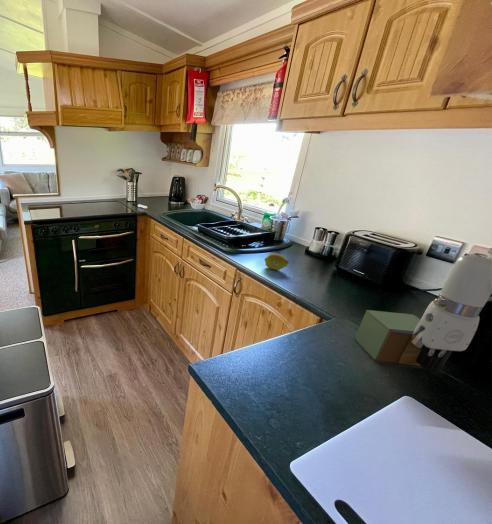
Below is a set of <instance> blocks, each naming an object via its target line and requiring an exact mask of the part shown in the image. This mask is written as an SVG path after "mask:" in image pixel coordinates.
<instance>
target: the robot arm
mask: <svg viewBox="0 0 492 524" xmlns="http://www.w3.org/2000/svg"><path fill="white" fill-rule="evenodd" d="M454 263H455V264H454V265H453V267H452V269H451V271H450V272H449V274H448V277H447V278H446V280H445V282H444V284H443V286H442V288H441V289H440V292H439V293H438V296H437V297H436V298H435V299H434V300H432V301H433V303H434V305H432V306H431V307H430V308H429V309H428V310H427V311H426V310H425V311H426V313H425V312H424V313H425V314H424V313H423V315H422V316H423V317H422V316H421V318H419V319H420V321H419V323H418V324H417V326H416V328H415V330H414V332H413V337H414V339H413V340H412V342H411V343H412V344H413V345H414V346H416V347H419V348H420V349H421V352H420V354H419V355H418V357H417V359H416V362H417V363H418V364H420V365H421V366H422V367H423V368H424V369H423V370H432V369H433V366H434V365H435V364H436V362H437V361H438V359H439V357H442V356H443V355H444V354H445V353H446V352H448V351H452V352H463V351H466V350H467V349H468V347H469V346H470V344H471V342H472V341H473V338H474V336H475V334H476V332H477V330H478V326H479V323H480V313H481V312H482V310H483V308H484V307H485V306H486V303H487V302H488V300H489V299H490V297H491V296H492V254H490V255H488V256H487V257H484V256H480V255H471V254H465V255H462V256H460V257H458V259H457V260H456V262H454Z"/></svg>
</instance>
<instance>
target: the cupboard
mask: <svg viewBox="0 0 492 524" xmlns="http://www.w3.org/2000/svg"><path fill="white" fill-rule="evenodd" d="M420 319H421V318H419V317H418V316H416V315H414V314H410V313H400V312H391V311H383V310H382V311H381V310H371V309H366V311H365V313H364V315H363V318H362V320H361V322H360V324H359V327H358V328H357V332H356V334H355V337H354V340H355V341H356V343H358V344H359V346H361V348H363V350H365V352H366V353H367V354H368V355H369V356H370V357H371V358H372V359H373V360H374V361H375V363H377V364H378V365H383V366H384V365H386V366H393V367H401V368H402V367H404V368H412V369H421V370H425V369H424V368H423V367H422V366H416V365H406V364H399V363H398V361H399V359H400V357H401V355H402V353H403V351H404V350H405V348H406V346H407V344H408V342H409V340H410V338H411V336H413V332H414V330H415V328H416V326H417V324H418V323H419V321H420Z"/></svg>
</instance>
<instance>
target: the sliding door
mask: <svg viewBox="0 0 492 524" xmlns="http://www.w3.org/2000/svg"><path fill="white" fill-rule="evenodd" d="M413 339H414V337H413V336H411V338H410V340H409V342H408V344H407V346H406V348H405V350H404V351H403V353H402V355H401V357H400V359H399V361H398V363H399V364H406V365H416V366H421V365H420V364H418V363H417V362H416V359H417V357H418V355H419V354H420V352H421V349H420V348H419V347H416V346H414V345H413V344H412V343H411V342H412V340H413ZM452 353H453V351H448V352H446V353H445V354H444V355H443V356H442V357H438V360H437V361H436V363H435V365H434V366H433V368H432V369H431V370H432V372H434V373H435V374H440V372H441V371H442V369H443V368H444V366H445V364H446V362H447V361H448V359H449V357H450V356H451V354H452Z"/></svg>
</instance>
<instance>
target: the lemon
mask: <svg viewBox="0 0 492 524" xmlns="http://www.w3.org/2000/svg"><path fill="white" fill-rule="evenodd" d="M264 262H265V266H266V267H267V268H268V269H270V270H272V269H273V270H272V271H279V270H282V269H284V268H285V267H288V265H289V263H290V262H289V260H288V259H286V257H284V256H283V255H281V254H279V253H270V254H269V255H267V256H266V257H265V258H264Z"/></svg>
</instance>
